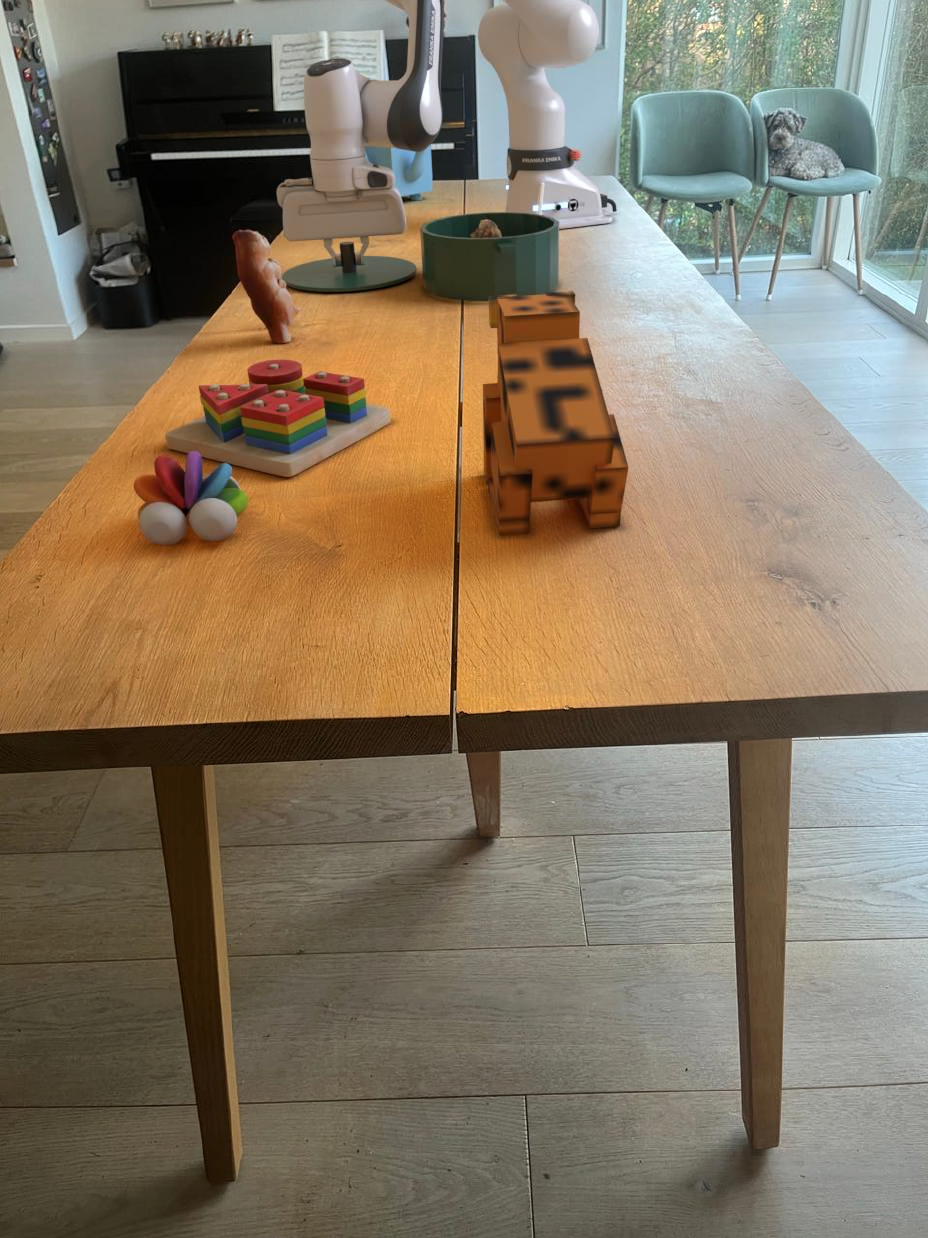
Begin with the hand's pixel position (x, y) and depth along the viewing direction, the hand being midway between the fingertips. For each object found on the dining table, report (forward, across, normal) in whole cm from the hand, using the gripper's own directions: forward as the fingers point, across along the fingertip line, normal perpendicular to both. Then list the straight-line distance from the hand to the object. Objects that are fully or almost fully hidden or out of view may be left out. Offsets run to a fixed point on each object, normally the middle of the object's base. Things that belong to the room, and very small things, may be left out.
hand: (349, 265), depth 165 cm
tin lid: (+2, 0, 0) cm, 2 cm away
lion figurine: (+2, +22, -11) cm, 25 cm away
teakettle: (+3, +12, +79) cm, 80 cm away
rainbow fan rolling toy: (+2, -14, -92) cm, 93 cm away
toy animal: (+2, +18, -90) cm, 92 cm away
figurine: (+2, -11, -33) cm, 35 cm away
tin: (+3, +23, -10) cm, 25 cm away
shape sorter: (+2, -8, -70) cm, 70 cm away
